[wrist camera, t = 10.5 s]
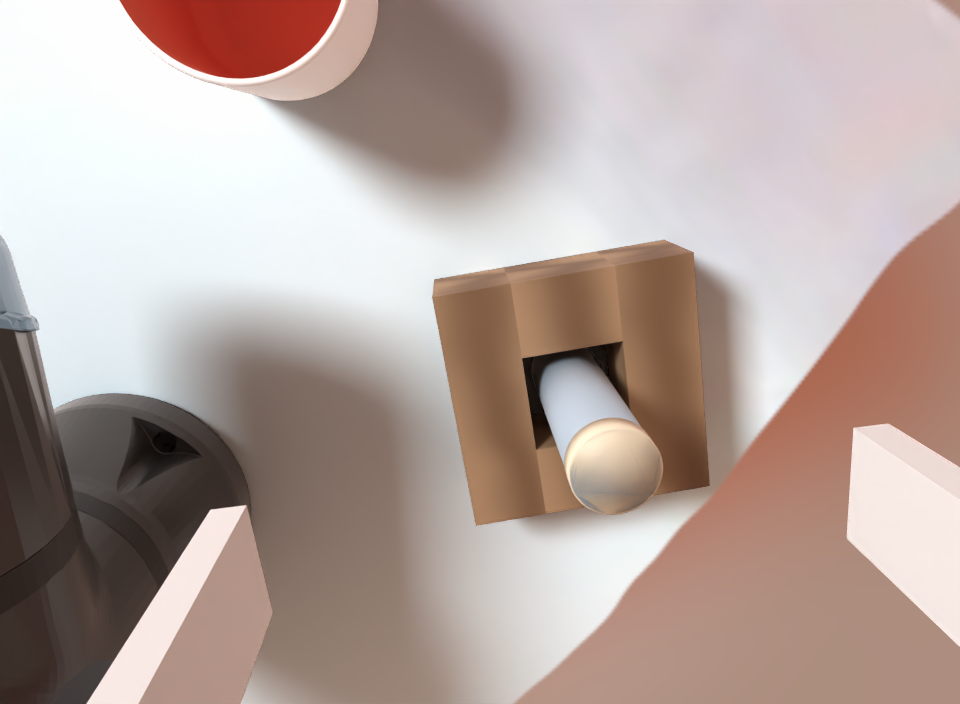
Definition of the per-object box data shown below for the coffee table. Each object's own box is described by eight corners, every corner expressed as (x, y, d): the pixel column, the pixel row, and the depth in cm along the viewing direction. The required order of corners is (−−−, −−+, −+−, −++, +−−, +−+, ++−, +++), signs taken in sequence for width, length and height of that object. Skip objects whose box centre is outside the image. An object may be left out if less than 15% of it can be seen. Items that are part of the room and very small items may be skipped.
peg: (535, 404, 43) (574, 521, 29) (526, 343, 41) (562, 437, 28) (598, 393, 42) (666, 505, 29) (591, 332, 41) (658, 421, 28)
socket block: (473, 484, 44) (476, 525, 39) (434, 279, 40) (432, 297, 35) (681, 449, 44) (709, 485, 39) (664, 239, 40) (693, 252, 35)
